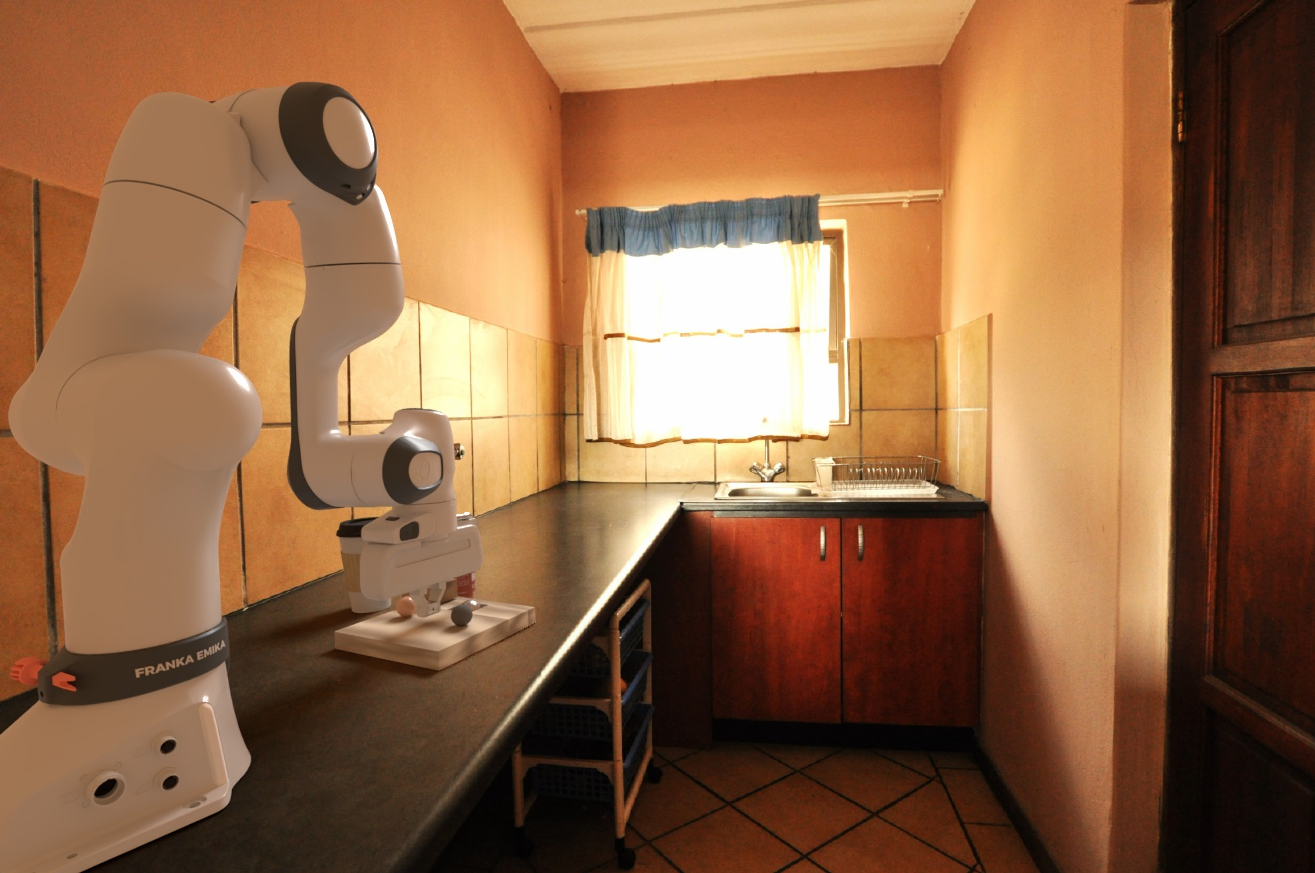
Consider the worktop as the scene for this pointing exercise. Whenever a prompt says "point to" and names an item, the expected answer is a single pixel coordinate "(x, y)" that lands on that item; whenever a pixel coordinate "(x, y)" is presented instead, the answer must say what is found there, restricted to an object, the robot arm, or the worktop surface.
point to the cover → (449, 592)
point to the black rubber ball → (461, 615)
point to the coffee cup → (356, 564)
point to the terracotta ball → (406, 606)
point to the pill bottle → (466, 585)
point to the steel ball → (472, 604)
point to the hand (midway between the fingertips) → (428, 614)
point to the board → (434, 633)
